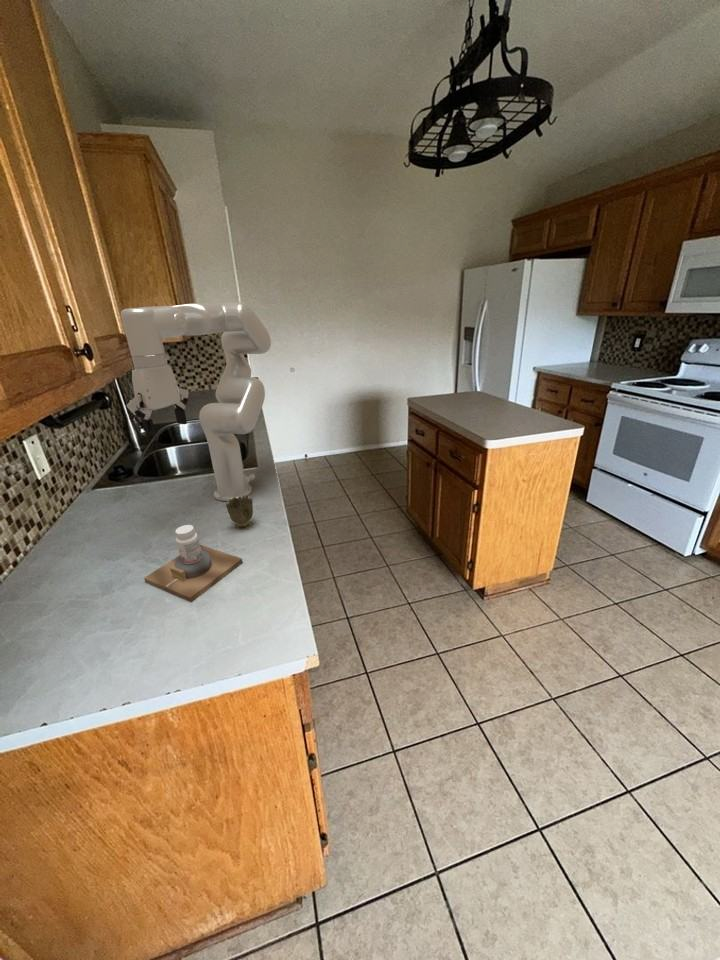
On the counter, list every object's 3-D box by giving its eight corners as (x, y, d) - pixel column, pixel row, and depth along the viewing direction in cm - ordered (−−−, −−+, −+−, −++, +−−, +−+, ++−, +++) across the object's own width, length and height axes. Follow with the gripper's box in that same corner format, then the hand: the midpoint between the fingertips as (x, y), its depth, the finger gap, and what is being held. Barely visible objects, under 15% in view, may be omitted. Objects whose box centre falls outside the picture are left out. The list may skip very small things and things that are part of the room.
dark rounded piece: (249, 533, 112) (244, 508, 109) (225, 531, 114) (220, 506, 111) (260, 520, 119) (256, 496, 116) (238, 518, 121) (233, 495, 117)
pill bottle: (179, 557, 96) (171, 528, 93) (199, 550, 99) (192, 521, 95) (184, 567, 92) (176, 536, 89) (205, 559, 95) (197, 529, 91)
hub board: (198, 547, 107) (195, 535, 105) (242, 562, 100) (240, 550, 98) (145, 582, 94) (141, 569, 92) (191, 602, 87) (187, 588, 85)
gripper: (170, 357, 106) (184, 418, 113) (107, 366, 93) (127, 436, 100) (189, 357, 103) (202, 421, 110) (126, 368, 89) (146, 439, 96)
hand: (167, 428), depth 105 cm, fingers open, 9 cm apart
